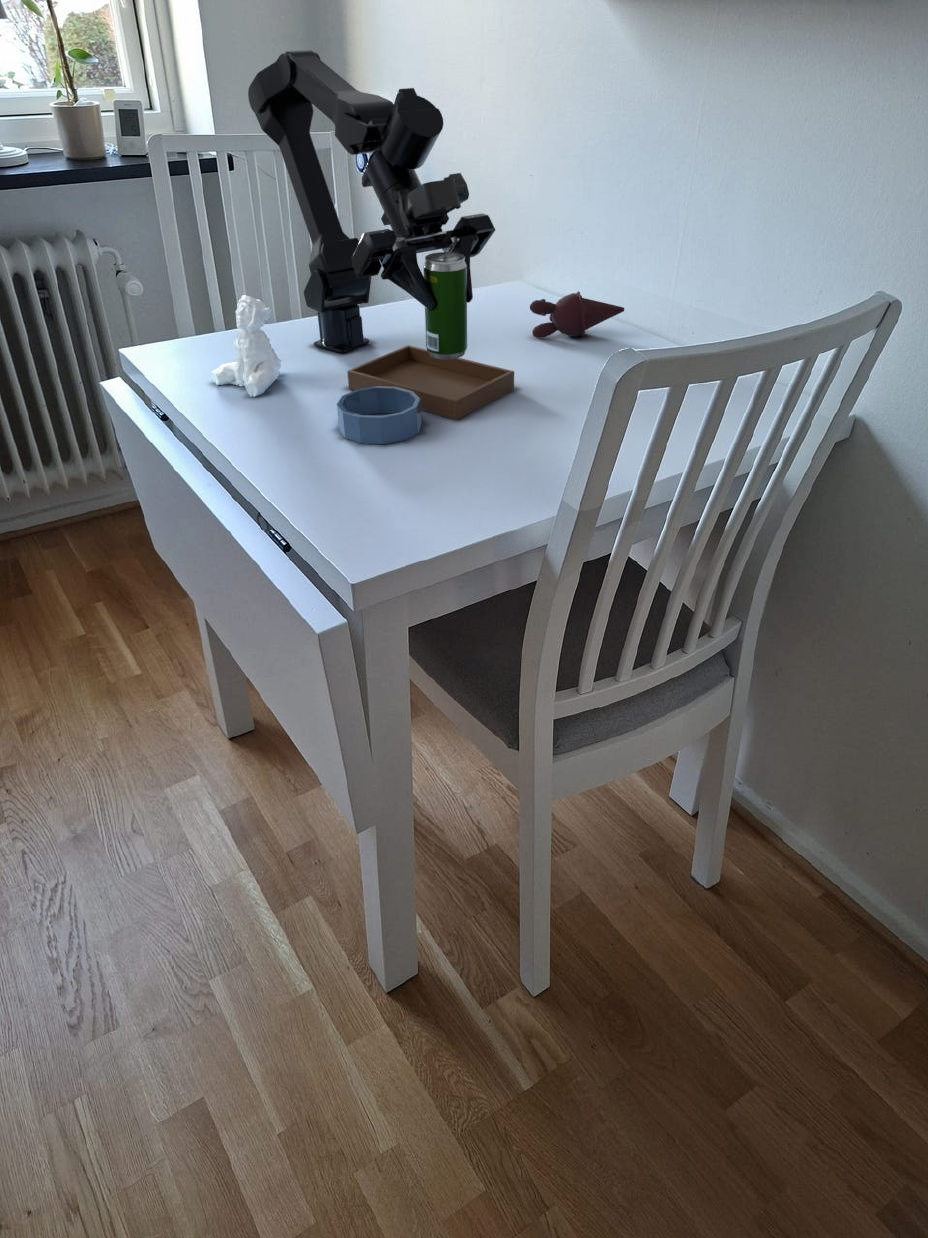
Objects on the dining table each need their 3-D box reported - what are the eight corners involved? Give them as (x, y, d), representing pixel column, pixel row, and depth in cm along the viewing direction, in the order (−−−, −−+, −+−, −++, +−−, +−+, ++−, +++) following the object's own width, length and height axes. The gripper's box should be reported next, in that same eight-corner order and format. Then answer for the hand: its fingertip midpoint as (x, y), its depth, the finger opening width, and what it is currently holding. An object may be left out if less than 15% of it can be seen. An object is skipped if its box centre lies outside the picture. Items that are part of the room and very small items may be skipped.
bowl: (324, 431, 110) (321, 404, 108) (377, 405, 117) (375, 380, 115) (384, 451, 105) (382, 424, 103) (436, 423, 112) (435, 397, 110)
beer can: (451, 363, 111) (449, 265, 104) (418, 354, 113) (414, 258, 106) (475, 351, 114) (475, 255, 107) (442, 343, 117) (440, 249, 110)
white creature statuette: (210, 383, 124) (193, 298, 117) (255, 366, 130) (242, 283, 123) (254, 398, 120) (240, 309, 113) (299, 379, 125) (289, 294, 118)
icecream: (618, 285, 140) (526, 296, 140) (628, 285, 133) (531, 297, 133) (620, 330, 142) (530, 341, 142) (630, 332, 135) (535, 344, 135)
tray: (348, 388, 122) (347, 370, 121) (409, 361, 131) (408, 344, 129) (456, 420, 113) (456, 401, 111) (514, 389, 121) (514, 371, 120)
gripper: (355, 157, 98) (411, 280, 98) (487, 142, 107) (540, 254, 106) (329, 220, 108) (380, 331, 108) (452, 201, 117) (500, 304, 116)
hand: (451, 304), depth 109 cm, fingers closed on beer can, 5 cm apart
